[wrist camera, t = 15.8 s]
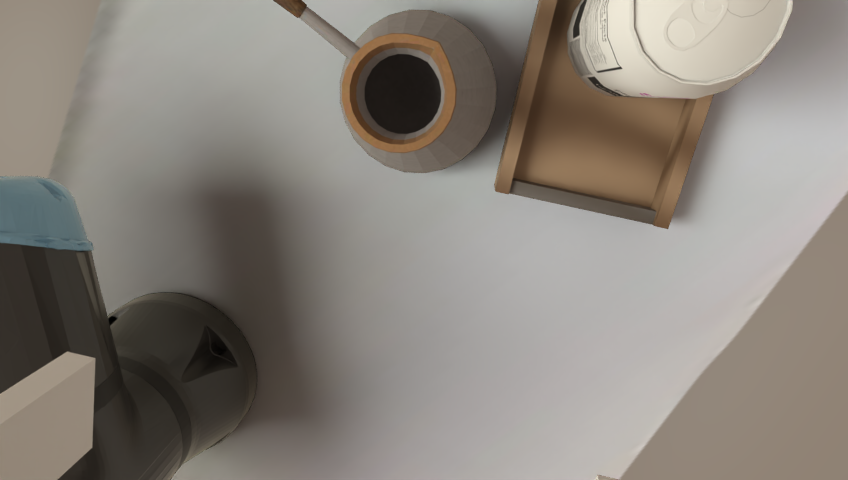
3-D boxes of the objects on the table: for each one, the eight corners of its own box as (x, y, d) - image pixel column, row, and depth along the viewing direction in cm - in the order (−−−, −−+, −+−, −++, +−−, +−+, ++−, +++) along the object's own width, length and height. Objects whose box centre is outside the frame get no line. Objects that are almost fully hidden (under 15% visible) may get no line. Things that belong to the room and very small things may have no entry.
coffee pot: (526, 84, 41) (554, 78, 27) (430, 197, 44) (408, 247, 30) (305, -112, 39) (205, -232, 25) (220, 20, 42) (86, -17, 28)
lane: (655, 219, 43) (694, 247, 35) (494, 184, 43) (498, 204, 36) (767, -121, 36) (846, -178, 29) (576, -158, 37) (603, -224, 29)
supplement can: (630, -52, 37) (727, -144, 23) (708, 36, 38) (848, 2, 24) (541, 38, 39) (579, 6, 25) (617, 120, 40) (696, 135, 26)
